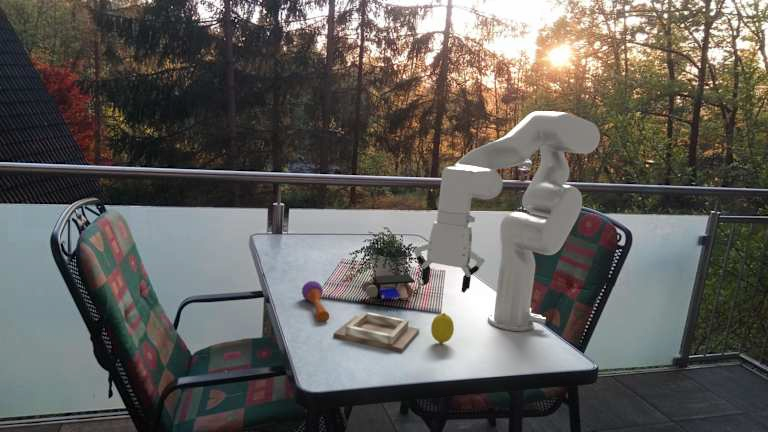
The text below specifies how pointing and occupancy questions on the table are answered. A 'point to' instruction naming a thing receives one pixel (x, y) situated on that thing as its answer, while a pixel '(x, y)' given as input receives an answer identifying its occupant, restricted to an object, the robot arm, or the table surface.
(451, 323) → the lemon
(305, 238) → the table surface
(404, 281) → the figurine character
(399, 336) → the jig board
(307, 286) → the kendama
